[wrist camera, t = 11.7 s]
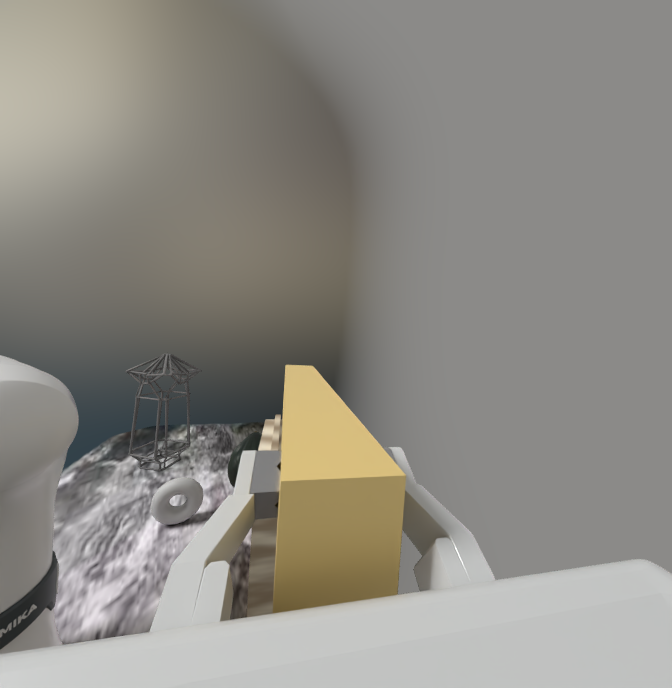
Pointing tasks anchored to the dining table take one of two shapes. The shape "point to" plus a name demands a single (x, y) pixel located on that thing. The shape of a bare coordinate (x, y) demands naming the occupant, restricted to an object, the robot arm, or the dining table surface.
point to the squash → (246, 445)
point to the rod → (333, 502)
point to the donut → (176, 513)
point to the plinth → (264, 540)
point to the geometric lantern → (182, 370)
